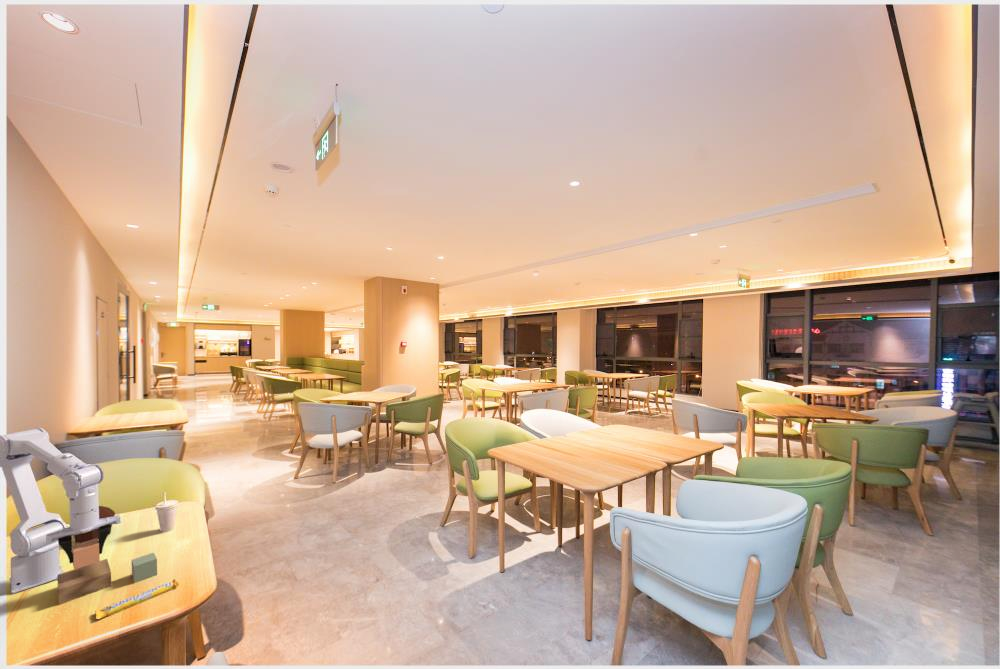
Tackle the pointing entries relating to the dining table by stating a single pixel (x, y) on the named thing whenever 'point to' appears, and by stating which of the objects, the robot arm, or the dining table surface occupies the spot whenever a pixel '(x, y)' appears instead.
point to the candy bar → (135, 600)
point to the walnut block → (83, 581)
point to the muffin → (93, 534)
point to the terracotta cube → (85, 553)
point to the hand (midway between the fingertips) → (85, 557)
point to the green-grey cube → (144, 567)
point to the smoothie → (166, 514)
